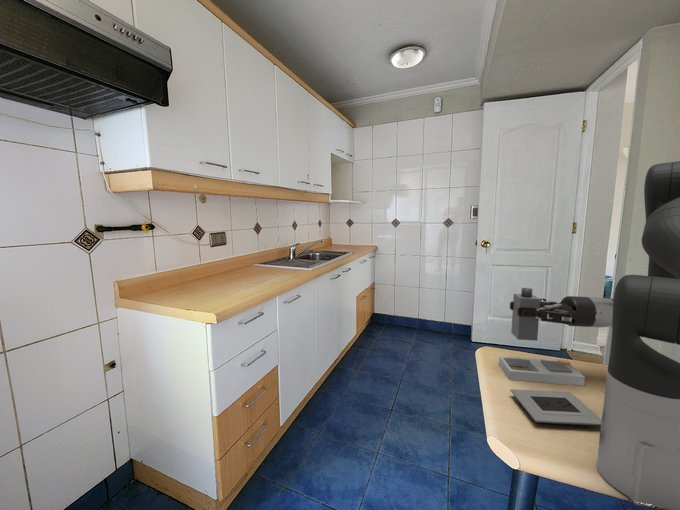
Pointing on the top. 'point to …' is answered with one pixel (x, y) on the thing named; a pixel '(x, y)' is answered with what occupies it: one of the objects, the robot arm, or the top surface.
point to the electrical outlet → (556, 407)
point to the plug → (525, 325)
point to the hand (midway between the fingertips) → (514, 308)
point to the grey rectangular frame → (542, 371)
